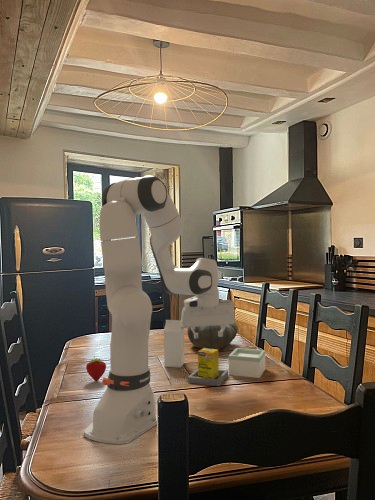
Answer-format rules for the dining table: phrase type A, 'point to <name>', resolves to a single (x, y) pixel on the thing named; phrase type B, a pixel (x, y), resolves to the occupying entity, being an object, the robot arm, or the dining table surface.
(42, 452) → the dining table surface
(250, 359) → the white box and frame
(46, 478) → the dining table surface
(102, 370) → the strawberry
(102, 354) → the dining table surface
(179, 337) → the milk carton
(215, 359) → the supplement box
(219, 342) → the gourd
